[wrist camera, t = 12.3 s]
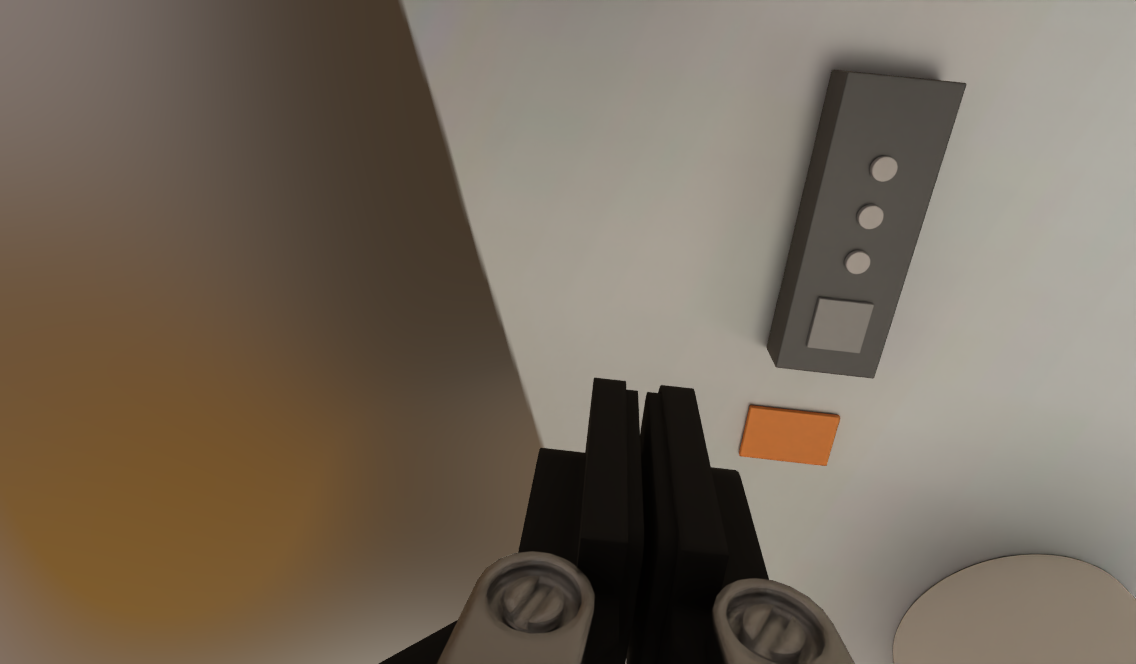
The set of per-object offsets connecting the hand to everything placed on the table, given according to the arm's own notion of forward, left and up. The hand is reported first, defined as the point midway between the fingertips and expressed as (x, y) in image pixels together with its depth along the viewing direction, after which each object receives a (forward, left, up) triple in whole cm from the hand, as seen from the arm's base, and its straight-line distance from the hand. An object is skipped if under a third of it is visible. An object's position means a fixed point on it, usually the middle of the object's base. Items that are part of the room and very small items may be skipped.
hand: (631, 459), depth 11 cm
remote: (0, +10, -21) cm, 23 cm away
